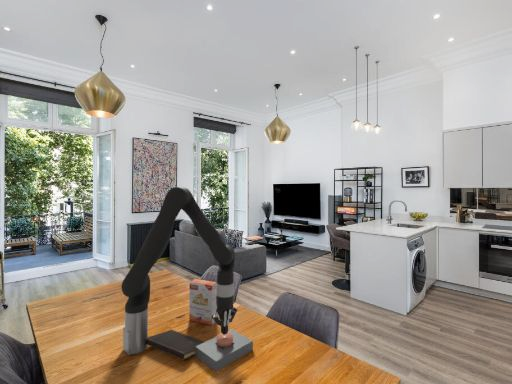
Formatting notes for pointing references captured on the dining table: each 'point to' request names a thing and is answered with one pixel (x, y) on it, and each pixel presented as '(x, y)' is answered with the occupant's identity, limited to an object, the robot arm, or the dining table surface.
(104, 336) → the dining table surface
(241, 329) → the dining table surface
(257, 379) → the dining table surface
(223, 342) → the knob
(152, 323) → the dining table surface
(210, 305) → the cracker box
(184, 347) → the hardcover book
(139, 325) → the robot arm
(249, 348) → the mount
